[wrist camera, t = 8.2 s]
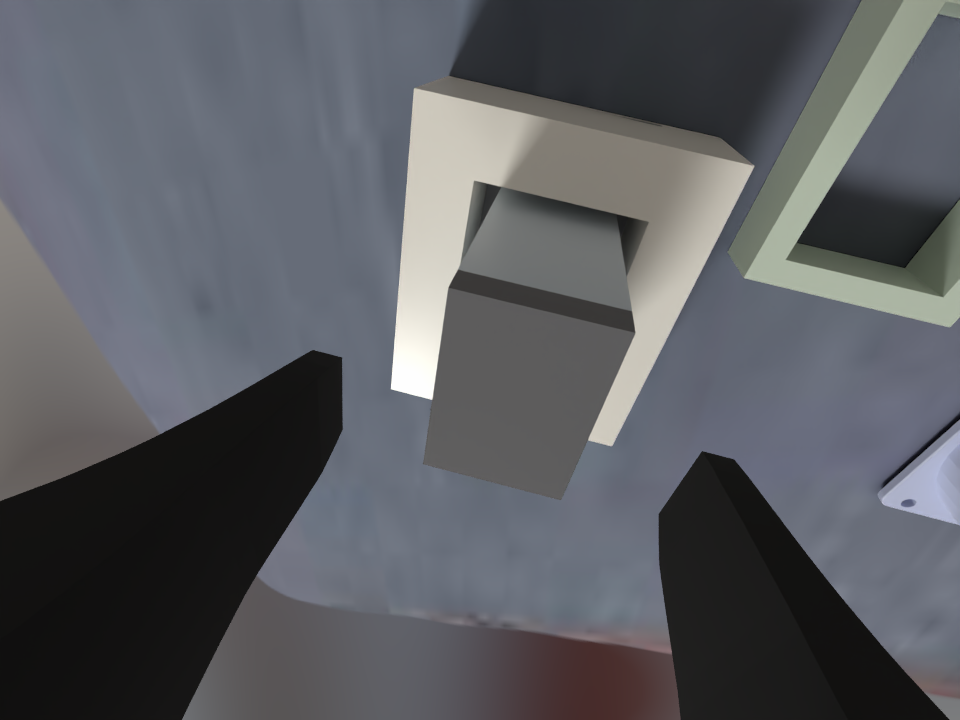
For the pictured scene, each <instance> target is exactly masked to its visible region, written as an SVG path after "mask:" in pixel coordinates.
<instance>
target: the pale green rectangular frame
mask: <svg viewBox="0 0 960 720" xmlns="http://www.w3.org/2000/svg"><path fill="white" fill-rule="evenodd" d="M938 14H941V15H945V16H950V17H955V18H960V0H862V1H861V2H860V4H859V6H858V8H857V10H856V12H855V14H854V16H853V18H852V19H851V21H850V23H849V25H848V27H847V29H846V31H845V33H844V34H843V36H842V38H841V40H840V42H839V44H838V46H837V48H836V49H835V51H834V53H833V55H832V57H831V59H830V61H829V63H828V64H827V66H826V68H825V70H824V72H823V74H822V76H821V78H820V79H819V81H818V83H817V85H816V87H815V89H814V91H813V93H812V94H811V96H810V98H809V100H808V102H807V104H806V106H805V108H804V110H803V111H802V113H801V115H800V117H799V119H798V121H797V123H796V125H795V126H794V128H793V130H792V132H791V134H790V136H789V138H788V140H787V141H786V143H785V145H784V147H783V149H782V151H781V153H780V155H779V156H778V158H777V160H776V162H775V164H774V166H773V168H772V170H771V171H770V173H769V175H768V177H767V179H766V181H765V183H764V185H763V186H762V188H761V190H760V192H759V194H758V196H757V198H756V200H755V202H754V203H753V205H752V207H751V209H750V211H749V213H748V215H747V217H746V218H745V220H744V222H743V224H742V226H741V228H740V230H739V232H738V233H737V235H736V237H735V239H734V241H733V243H732V245H731V247H730V248H729V250H728V254H729V255H730V257H731V258H732V260H733V262H734V263H735V265H736V266H737V268H738V270H739V271H740V273H741V274H742V276H743V278H746V279H750V280H754V281H759V282H763V283H767V284H771V285H775V286H779V287H784V288H788V289H792V290H796V291H800V292H804V293H809V294H813V295H817V296H821V297H825V298H829V299H834V300H838V301H842V302H846V303H850V304H854V305H859V306H863V307H867V308H871V309H875V310H879V311H883V312H888V313H892V314H896V315H900V316H904V317H908V318H913V319H917V320H921V321H925V322H929V323H933V324H938V325H942V326H946V327H951V326H952V325H953V324H954V323H955V322H956V320H957V319H958V318H959V317H960V200H959V201H958V202H957V203H956V205H955V206H954V207H953V208H952V210H951V211H950V212H949V213H948V215H947V216H946V217H945V218H944V220H943V221H942V222H941V223H940V225H939V226H938V227H937V228H936V230H935V231H934V232H933V234H932V235H931V236H930V237H929V239H928V240H927V241H926V242H925V244H924V245H923V246H922V247H921V249H920V250H919V251H918V252H917V254H916V255H915V256H914V257H913V259H912V260H911V261H910V262H909V264H908V265H907V266H906V267H905V268H902V267H897V266H893V265H889V264H885V263H880V262H876V261H872V260H868V259H863V258H859V257H855V256H851V255H846V254H842V253H838V252H834V251H829V250H825V249H821V248H817V247H812V246H808V245H804V244H800V243H796V242H797V241H798V239H799V237H800V236H801V234H802V232H803V231H804V229H805V228H806V226H807V224H808V223H809V221H810V220H811V218H812V216H813V215H814V213H815V212H816V210H817V208H818V207H819V205H820V203H821V202H822V200H823V199H824V197H825V195H826V194H827V192H828V191H829V189H830V187H831V186H832V184H833V183H834V181H835V179H836V178H837V176H838V174H839V173H840V171H841V170H842V168H843V166H844V165H845V163H846V162H847V160H848V158H849V157H850V155H851V153H852V152H853V150H854V149H855V147H856V145H857V144H858V142H859V141H860V139H861V137H862V136H863V134H864V133H865V131H866V129H867V128H868V126H869V124H870V123H871V121H872V120H873V118H874V116H875V115H876V113H877V112H878V110H879V108H880V107H881V105H882V104H883V102H884V100H885V99H886V97H887V95H888V94H889V92H890V91H891V89H892V87H893V86H894V84H895V83H896V81H897V79H898V78H899V76H900V75H901V73H902V71H903V70H904V68H905V66H906V65H907V63H908V62H909V60H910V58H911V57H912V55H913V54H914V52H915V50H916V49H917V47H918V46H919V44H920V42H921V41H922V39H923V37H924V36H925V34H926V33H927V31H928V29H929V28H930V26H931V25H932V23H933V21H934V20H935V18H936V16H937V15H938Z"/></svg>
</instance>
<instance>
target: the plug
mask: <svg viewBox="0 0 960 720" xmlns="http://www.w3.org/2000/svg"><path fill="white" fill-rule="evenodd" d="M635 333H636V332H635V326H634V320H633V314H632V307H631V301H630V295H629V289H628V283H627V276H626V270H625V264H624V258H623V252H622V246H621V239H620V233H619V227H618V221H617V215H616V214H614V213H610V212H605V211H601V210H597V209H593V208H589V207H584V206H580V205H576V204H572V203H567V202H563V201H559V200H555V199H551V198H546V197H542V196H538V195H534V194H530V193H525V192H521V191H517V190H513V189H508V188H504V187H501V189H500V191H499V193H498V194H497V196H496V198H495V200H494V202H493V204H492V206H491V208H490V210H489V211H488V213H487V215H486V217H485V219H484V221H483V223H482V225H481V227H480V228H479V230H478V232H477V234H476V236H475V238H474V240H473V242H472V244H471V245H470V247H469V249H468V251H467V253H466V255H465V257H464V259H463V261H462V263H461V264H460V266H459V268H458V270H457V272H456V274H455V276H454V278H453V280H452V281H451V283H450V285H449V287H448V293H447V300H446V307H445V314H444V321H443V328H442V335H441V342H440V349H439V356H438V363H437V370H436V377H435V384H434V391H433V398H432V406H431V413H430V420H429V427H428V434H427V441H426V448H425V455H424V462H423V464H425V465H428V466H432V467H436V468H440V469H444V470H447V471H451V472H455V473H459V474H463V475H467V476H470V477H474V478H478V479H482V480H486V481H490V482H493V483H497V484H501V485H505V486H509V487H512V488H516V489H520V490H524V491H528V492H532V493H535V494H539V495H543V496H547V497H551V498H554V499H558V500H561V499H562V497H563V495H564V492H565V490H566V488H567V486H568V483H569V481H570V479H571V477H572V474H573V472H574V470H575V468H576V465H577V463H578V461H579V459H580V456H581V454H582V452H583V450H584V448H585V445H586V443H587V441H588V439H589V436H590V434H591V432H592V430H593V427H594V425H595V423H596V421H597V418H598V416H599V414H600V412H601V409H602V407H603V405H604V403H605V400H606V398H607V396H608V394H609V392H610V389H611V387H612V385H613V383H614V380H615V378H616V376H617V374H618V371H619V369H620V367H621V365H622V362H623V360H624V358H625V356H626V353H627V351H628V349H629V347H630V345H631V342H632V340H633V338H634V336H635Z"/></svg>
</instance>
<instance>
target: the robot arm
mask: <svg viewBox="0 0 960 720" xmlns="http://www.w3.org/2000/svg"><path fill="white" fill-rule="evenodd" d="M342 430H343V426H342V357H338V356H334V355H330V354H326V353H322V352H319V351H315V350H312V351H310V352H308V353H307V354H305V355H303V356H301V357H300V358H298V359H296V360H294V361H293V362H291V363H289V364H288V365H286V366H284V367H282V368H281V369H279V370H277V371H275V372H274V373H272V374H270V375H269V376H267V377H265V378H264V379H262V380H260V381H258V382H257V383H255V384H253V385H251V386H250V387H248V388H246V389H244V390H243V391H241V392H239V393H237V394H236V395H234V396H232V397H230V398H228V399H227V400H225V401H223V402H221V403H219V404H218V405H216V406H214V407H212V408H211V409H209V410H207V411H205V412H203V413H201V414H199V415H197V416H195V417H193V418H191V419H189V420H187V421H185V422H183V423H181V424H179V425H177V426H175V427H173V428H172V429H170V430H168V431H166V432H164V433H162V434H160V435H158V436H156V437H154V438H152V439H150V440H148V441H146V442H143V443H141V444H139V445H137V446H135V447H133V448H131V449H129V450H126V451H124V452H122V453H120V454H118V455H115V456H113V457H111V458H108V459H106V460H103V461H101V462H99V463H96V464H94V465H92V466H89V467H87V468H85V469H82V470H80V471H78V472H75V473H73V474H70V475H68V476H66V477H63V478H61V479H58V480H56V481H53V482H50V483H48V484H45V485H42V486H40V487H37V488H34V489H32V490H29V491H26V492H23V493H21V494H18V495H16V496H13V497H10V498H7V499H5V500H2V501H0V720H182V718H183V716H184V714H185V712H186V710H187V708H188V706H189V703H190V702H191V700H192V698H193V696H194V694H195V692H196V690H197V688H198V686H199V684H200V682H201V680H202V678H203V676H204V674H205V672H206V669H207V668H208V666H209V664H210V661H211V660H212V658H213V655H214V654H215V652H216V650H217V648H218V646H219V643H220V642H221V640H222V638H223V636H224V634H225V632H226V630H227V628H228V627H229V624H230V623H231V621H232V619H233V617H234V615H235V613H236V611H237V609H238V607H239V605H240V603H241V602H242V600H243V598H244V596H245V594H246V592H247V590H248V589H249V587H250V585H251V584H252V582H253V580H254V579H255V577H256V575H257V574H258V572H259V570H260V569H261V567H262V566H263V564H264V563H265V561H266V559H267V558H268V556H269V555H270V553H271V552H272V550H273V549H274V547H275V545H276V544H277V542H278V541H279V539H280V538H281V536H282V535H283V533H284V532H285V530H286V528H287V527H288V525H289V524H290V522H291V521H292V519H293V518H294V516H295V514H296V513H297V511H298V510H299V508H300V507H301V505H302V504H303V502H304V500H305V499H306V497H307V496H308V494H309V492H310V491H311V489H312V488H313V486H314V485H315V483H316V481H317V480H318V478H319V477H320V475H321V473H322V472H323V469H324V467H325V465H326V463H327V461H328V459H329V457H330V455H331V453H332V451H333V449H334V447H335V445H336V443H337V440H338V438H339V436H340V434H341V432H342ZM878 497H879V499H880V500H881V502H882V503H883V504H884V505H886V506H888V507H892V508H896V509H900V510H904V511H908V512H912V513H915V514H919V515H923V516H927V517H931V518H935V519H939V520H943V521H946V522H950V523H954V524H958V525H960V420H959V421H957V422H956V423H955V424H954V425H953V426H952V427H951V428H950V429H949V430H947V431H946V432H945V433H944V434H943V435H942V436H941V437H940V438H938V439H937V440H936V441H935V442H934V443H933V444H932V445H931V446H929V447H928V448H927V449H926V450H925V451H924V452H923V453H922V454H921V455H919V456H918V457H917V458H916V459H915V460H914V461H913V462H912V463H910V464H909V465H908V466H907V467H906V468H905V469H904V470H903V471H901V472H900V473H899V474H898V475H897V476H896V477H895V478H894V479H893V480H891V481H890V482H889V483H888V484H887V485H886V486H885V487H884V488H882V489H881V490H880V492H879V493H878ZM659 565H660V573H661V580H662V588H663V595H664V602H665V609H666V615H667V622H668V629H669V635H670V642H671V649H672V656H673V662H674V669H675V676H676V682H677V689H678V698H679V707H680V716H681V720H949V719H948V718H947V717H946V715H945V714H944V713H943V712H942V711H941V710H940V709H939V708H938V707H937V706H936V705H935V704H934V703H933V702H932V700H930V698H929V697H928V696H927V695H926V694H925V693H924V692H923V691H922V690H921V689H920V688H919V686H918V685H917V684H916V683H915V682H914V681H913V680H912V679H911V678H910V677H909V676H908V675H907V674H906V672H905V671H904V670H903V669H902V668H901V667H900V666H899V665H898V663H897V662H896V661H895V660H894V659H893V658H892V657H891V656H890V654H889V653H888V652H887V651H886V650H885V649H884V648H883V646H882V645H881V644H880V643H879V642H878V641H877V639H876V638H875V637H874V636H873V635H872V633H871V632H870V631H869V630H868V629H867V628H866V626H865V625H864V624H863V623H862V622H861V620H860V619H859V618H858V617H857V616H856V615H855V613H854V612H853V611H852V610H851V609H850V607H849V606H848V605H847V604H846V603H845V601H844V600H843V599H842V598H841V596H840V595H839V594H838V593H837V592H836V590H835V589H834V588H833V587H832V585H831V584H830V583H829V582H828V580H827V579H826V578H825V577H824V575H823V574H822V573H821V572H820V570H819V569H818V568H817V566H816V565H815V564H814V563H813V561H812V560H811V559H810V557H809V556H808V555H807V554H806V552H805V551H804V550H803V548H802V547H801V546H800V545H799V543H798V542H797V541H796V539H795V538H794V537H793V535H792V534H791V533H790V531H789V530H788V529H787V527H786V526H785V525H784V524H783V522H782V521H781V520H780V518H779V517H778V516H777V514H776V513H775V512H774V510H773V509H772V508H771V506H770V505H769V504H768V502H767V501H766V500H765V498H764V497H763V496H762V494H761V493H760V492H759V490H758V489H757V488H756V486H755V485H754V484H753V483H752V481H751V480H750V479H749V477H748V476H747V475H746V474H745V472H744V471H743V470H742V469H741V467H740V466H739V465H738V464H737V462H736V461H735V460H734V459H730V458H726V457H722V456H719V455H715V454H711V453H707V452H703V451H702V452H701V454H700V455H699V457H698V458H697V459H696V461H695V462H694V464H693V465H692V467H691V468H690V470H689V471H688V473H687V474H686V475H685V477H684V478H683V480H682V481H681V483H680V484H679V486H678V487H677V488H676V490H675V491H674V493H673V494H672V496H671V497H670V499H669V500H668V502H667V503H666V504H665V506H664V507H663V509H662V510H661V512H660V513H659Z"/></svg>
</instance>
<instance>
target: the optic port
mask: <svg viewBox="0 0 960 720" xmlns="http://www.w3.org/2000/svg"><path fill="white" fill-rule="evenodd" d="M753 168H754V165H753V164H751V163H750V162H749V161H748V160H747V159H745V158H744V157H743V156H742V155H741V154H739V153H738V152H737V151H736V150H735V149H733V148H732V147H731V146H730V145H729V144H727V143H726V142H725V141H724V140H722V139H721V138H720V137H715V136H711V135H706V134H702V133H698V132H693V131H689V130H684V129H680V128H676V127H671V126H667V125H662V124H658V123H654V122H649V121H645V120H640V119H636V118H632V117H627V116H623V115H618V114H614V113H610V112H605V111H601V110H596V109H592V108H588V107H583V106H579V105H574V104H570V103H566V102H561V101H557V100H552V99H548V98H544V97H539V96H535V95H530V94H526V93H522V92H517V91H513V90H508V89H504V88H500V87H495V86H491V85H486V84H482V83H478V82H473V81H469V80H464V79H460V78H456V77H451V76H447V77H444V78H441V79H438V80H435V81H432V82H430V83H427V84H424V85H421V86H418V87H416V88H414V97H413V110H412V123H411V136H410V149H409V162H408V175H407V188H406V201H405V214H404V227H403V240H402V253H401V266H400V279H399V292H398V305H397V318H396V331H395V345H394V358H393V371H392V384H391V389H393V390H397V391H401V392H404V393H408V394H412V395H416V396H420V397H424V398H428V399H431V400H432V398H433V391H434V384H435V377H436V370H437V363H438V356H439V349H440V342H441V335H442V328H443V321H444V314H445V307H446V300H447V293H448V287H449V285H450V283H451V281H452V280H453V278H454V276H455V274H456V272H457V270H458V268H459V266H460V264H461V263H462V261H463V259H464V257H465V255H466V253H467V251H468V249H469V247H470V245H471V244H472V242H473V240H474V238H475V236H476V234H477V232H478V230H479V228H480V227H481V225H482V223H483V221H484V219H485V217H486V215H487V213H488V211H489V210H490V208H491V206H492V204H493V202H494V200H495V198H496V196H497V194H498V193H499V191H500V189H501V187H504V188H508V189H513V190H517V191H521V192H525V193H530V194H534V195H538V196H542V197H546V198H551V199H555V200H559V201H563V202H567V203H572V204H576V205H580V206H584V207H589V208H593V209H597V210H601V211H605V212H610V213H614V214H616V215H617V221H618V227H619V233H620V239H621V246H622V252H623V258H624V264H625V270H626V276H627V283H628V289H629V295H630V301H631V307H632V314H633V320H634V326H635V332H636V333H635V336H634V338H633V340H632V342H631V345H630V347H629V349H628V351H627V353H626V356H625V358H624V360H623V362H622V365H621V367H620V369H619V371H618V374H617V376H616V378H615V380H614V383H613V385H612V387H611V389H610V392H609V394H608V396H607V398H606V400H605V403H604V405H603V407H602V409H601V412H600V414H599V416H598V418H597V421H596V423H595V425H594V427H593V430H592V432H591V434H590V436H589V439H588V440H589V441H593V442H597V443H601V444H605V445H609V446H612V445H613V443H614V441H615V439H616V437H617V435H618V433H619V431H620V429H621V428H622V426H623V424H624V422H625V420H626V418H627V416H628V414H629V412H630V410H631V408H632V406H633V404H634V402H635V400H636V398H637V396H638V394H639V392H640V390H641V388H642V386H643V384H644V382H645V380H646V378H647V376H648V374H649V373H650V371H651V369H652V367H653V365H654V363H655V361H656V359H657V357H658V355H659V353H660V351H661V349H662V347H663V345H664V343H665V341H666V339H667V337H668V335H669V333H670V331H671V329H672V327H673V325H674V323H675V321H676V320H677V318H678V316H679V314H680V312H681V310H682V308H683V306H684V304H685V302H686V300H687V298H688V296H689V294H690V292H691V290H692V288H693V286H694V284H695V282H696V280H697V278H698V276H699V274H700V272H701V270H702V268H703V266H704V265H705V263H706V261H707V259H708V257H709V255H710V253H711V251H712V249H713V247H714V245H715V243H716V241H717V239H718V237H719V235H720V233H721V231H722V229H723V227H724V225H725V223H726V221H727V219H728V217H729V215H730V213H731V211H732V210H733V208H734V206H735V204H736V202H737V200H738V198H739V196H740V194H741V192H742V190H743V188H744V186H745V184H746V182H747V180H748V178H749V176H750V174H751V172H752V170H753Z"/></svg>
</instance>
